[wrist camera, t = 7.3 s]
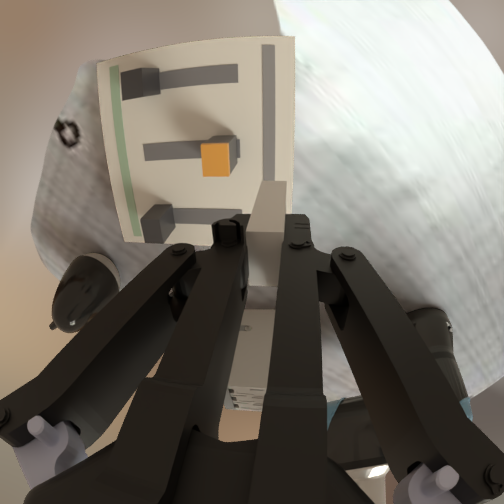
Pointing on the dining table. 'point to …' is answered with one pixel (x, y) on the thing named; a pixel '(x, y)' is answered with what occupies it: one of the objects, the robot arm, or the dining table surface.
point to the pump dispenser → (84, 291)
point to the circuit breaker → (251, 361)
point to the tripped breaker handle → (219, 156)
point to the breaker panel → (195, 132)
